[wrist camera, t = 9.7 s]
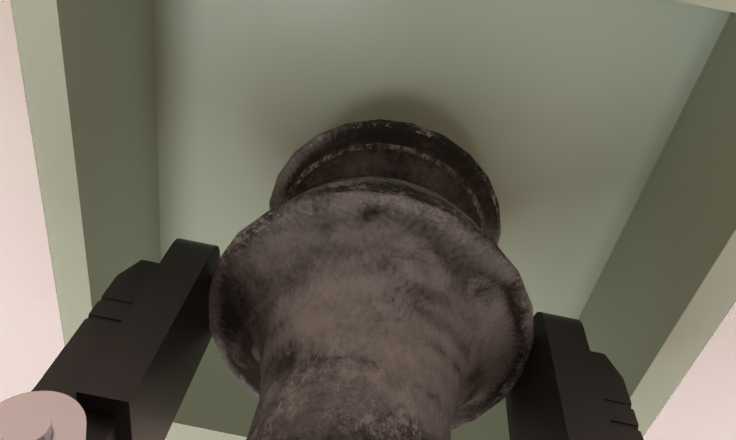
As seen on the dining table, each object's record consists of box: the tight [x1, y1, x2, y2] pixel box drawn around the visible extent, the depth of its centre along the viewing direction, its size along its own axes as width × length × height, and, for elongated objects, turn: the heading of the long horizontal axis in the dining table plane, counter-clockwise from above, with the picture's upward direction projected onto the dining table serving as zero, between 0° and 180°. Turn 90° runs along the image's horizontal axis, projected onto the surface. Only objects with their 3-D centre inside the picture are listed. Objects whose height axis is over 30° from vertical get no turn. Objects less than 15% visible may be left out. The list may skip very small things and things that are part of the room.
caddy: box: [11, 0, 736, 440], centre depth 14 cm, size 14×14×4 cm
